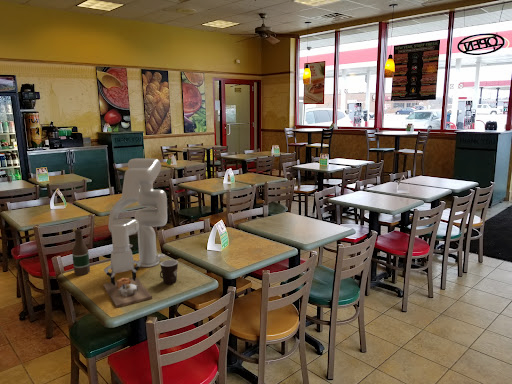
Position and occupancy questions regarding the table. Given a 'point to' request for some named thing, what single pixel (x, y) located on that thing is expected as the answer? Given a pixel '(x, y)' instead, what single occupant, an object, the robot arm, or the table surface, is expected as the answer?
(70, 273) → the table surface
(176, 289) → the table surface
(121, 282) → the terracotta gear
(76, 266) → the beer bottle
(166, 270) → the coffee mug
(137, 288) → the gear board
